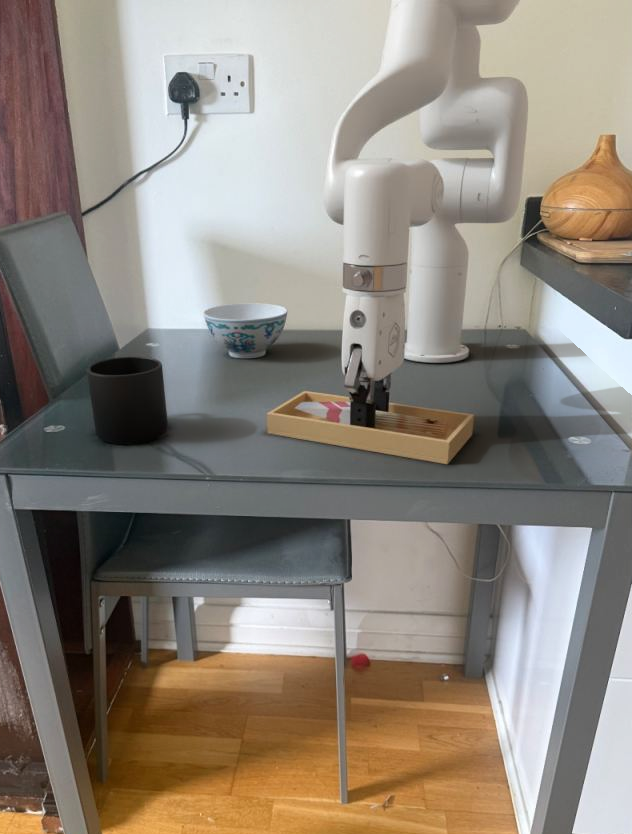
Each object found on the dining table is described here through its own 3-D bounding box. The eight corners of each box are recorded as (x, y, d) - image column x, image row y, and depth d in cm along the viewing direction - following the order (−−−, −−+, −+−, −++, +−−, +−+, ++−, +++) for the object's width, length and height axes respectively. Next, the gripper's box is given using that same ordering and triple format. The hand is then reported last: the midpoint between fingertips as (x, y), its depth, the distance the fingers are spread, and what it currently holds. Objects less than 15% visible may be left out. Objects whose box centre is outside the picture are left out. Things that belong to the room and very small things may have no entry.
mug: (181, 415, 101) (175, 351, 97) (156, 446, 90) (149, 376, 86) (116, 414, 102) (108, 351, 98) (85, 444, 91) (74, 375, 87)
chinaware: (303, 349, 133) (303, 307, 130) (257, 368, 122) (255, 323, 118) (238, 340, 140) (236, 300, 137) (189, 357, 129) (186, 314, 126)
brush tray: (304, 409, 102) (304, 390, 101) (472, 435, 92) (474, 414, 91) (267, 433, 94) (266, 413, 92) (447, 464, 83) (449, 442, 82)
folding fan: (304, 390, 96) (451, 414, 89) (303, 409, 97) (448, 434, 90) (292, 398, 93) (444, 423, 86) (292, 418, 94) (441, 444, 87)
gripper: (378, 292, 76) (372, 452, 84) (427, 270, 89) (418, 410, 97) (314, 287, 79) (314, 442, 87) (371, 267, 92) (366, 403, 100)
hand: (369, 424), depth 92 cm, fingers closed on folding fan, 3 cm apart
